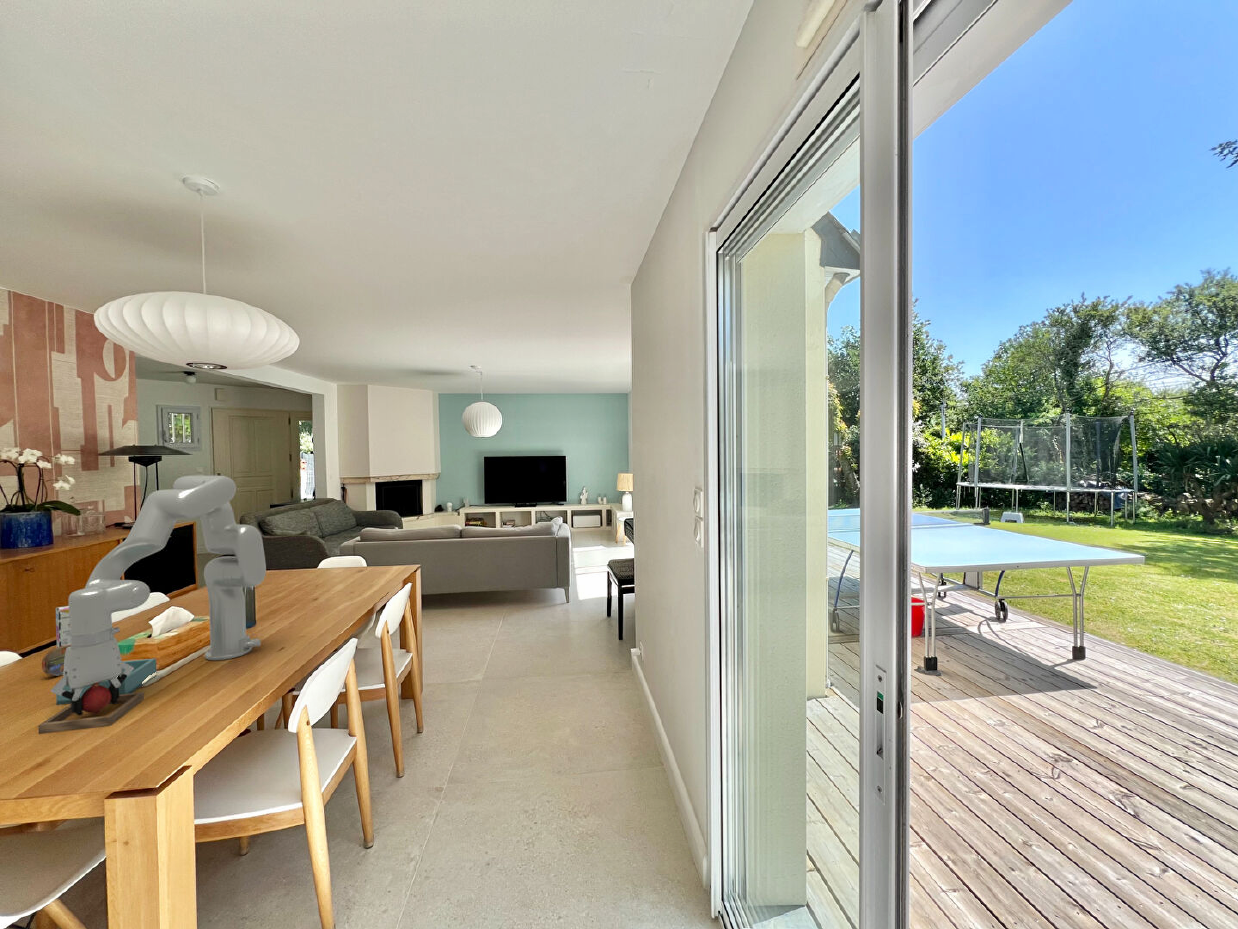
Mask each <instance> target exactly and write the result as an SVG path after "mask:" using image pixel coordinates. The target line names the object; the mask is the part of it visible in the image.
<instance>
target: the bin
mask: <svg viewBox="0 0 1238 929" xmlns="http://www.w3.org/2000/svg"><path fill="white" fill-rule="evenodd" d="M122 662H124V663H126V664H128V665H130V666H132V667H134V670H133V671H132V672H131V673H130V674H129V675H128V676H127V678H126V679H125V680H124V681H123V682H122V683H121V686H120V687H119V695H120V694H129V693H135V692H136V691H137V690H138V689H140V688H142V686H143V685H142V682H143V681H144V680H145V679H146V678H147V677H148V676H149V675H152V674H153V673H155V672H156V671H158V670H157V658H154V657H153V658H146V659H133V660H125V661H123V660H122ZM123 671H124V669H123V668H122V672H123ZM92 685H93V684H92ZM92 685H89V686H85V687H83V689H82V691H81V694H80V698H81V696H82V695H83V693H84V692H85V691H86V690H87V689H88V688H90V687H91V686H92ZM99 685H100V686H104V687H106V688H107V689H108V688H109V686H110V683H109V681H108V680H106V681H102V682H99ZM63 690H66V691H69V692H70V691H71V688H70V687H69V686H67V685H65V686H64V687H63ZM55 696H56V697H55V698H56V706H59V705H60V706H61V705H68V704H69V703H70V704H71V699H68V698H66V697H63V696H61V695H58V694H55ZM70 704H69V705H70Z"/></svg>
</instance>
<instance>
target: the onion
mask: <svg viewBox="0 0 1238 929" xmlns="http://www.w3.org/2000/svg"><path fill="white" fill-rule="evenodd" d="M111 697H112V695H111V692H110V690H109V689H107V688H106V687H104V686H100V685H99V683H96V684H93V685H92V686H91V687H90V688H88V689H87V690H86V691H85V692H84V693H83V695H82V696H81V699H82V708H83V712H85V713H89V714H94V715H97V714H101V712H102V711H103V710H104V709H105V708H106V707H107V706H109V705H108V704H109V702H110V701H111Z"/></svg>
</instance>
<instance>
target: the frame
mask: <svg viewBox="0 0 1238 929" xmlns="http://www.w3.org/2000/svg"><path fill="white" fill-rule="evenodd" d="M144 700H145V692H144V691H142V692H141V691H140V692H133V693H129V694H120V695H119V698H118V699H117V703H116V704H115V705H119V704H122V705H121V706H119V707H118V708H116V709H115V710H113V711H112V712H111V713H110V714H108V715H103V716H95V717H87V718H76V719H68V718H69V717H70V716H72V715H73V714H74V713H73V712H72V710H71V704H69V705H68V706H66V707H65V708H63V709H61V710H59V711H58V712H57V713H55V714H53V715H52V716H51V717H49V718H47V719H46V720H44V721H42V722H41V723H40V724H38V725H37V726H38V734H47V733H48V734H49V733H55V732H64V731H65V730H66V731H73V730H74V731H75V730H81V729H90V728H91V729H93V728H100V727H109V726H112V725H113V724H114V723H115V722H116V721H118V720H119V719H121V718H122V717H124V715H125V714H127V713H129V712H130V711H131V710H132V709H134V708H136V706H138V705H139V704H140V703H141V702H143V701H144ZM109 705H113V704H112V703H110V702H109V704H108V705H107V706H109ZM66 719H67V720H66Z"/></svg>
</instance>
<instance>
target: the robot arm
mask: <svg viewBox="0 0 1238 929" xmlns="http://www.w3.org/2000/svg"><path fill="white" fill-rule="evenodd" d="M172 486H173V487H172V489H169V488H168V489H160V490H155V491H153V492H151V493H150V494H149V495H148V496H147V498H146V500H145V501H144V504H143V506H142V508H141V509H140V511H139V513H138V516H137V517H136V520H135V521H134V523H133V526H132V527H131V530H130V532H129V534H128V535H127V537H126V538H125V540H124V541H123V542H121V543H119V544H118V545H116V547H115V548H113V549H112V550H111V551H109V552H108V554H106V555H105V556H104V557H103V558H102V559H100V560H99V562H98V563H97V564H96V565H95V567H94V569H93V570H92V572H91V574H90V576H89V577H88V579H87V582H86V583H85V587H84V588H82V589H81V588H80V589H78V590H75V591H73V592H71V593H70V594H69V596H68V599H67V600H68V606H69V619H70V634H71V635H70V636H71V646H70V647H67V649H66V653H65V659H64V674H63V677H62V678H61V679H60V680H59V681H58V682H56V684H55V685H54V686H53V687H52V688H51V689H50V691H51V693H53V694H55V695H56V694H58V695H61V696H63V697H66V698H68V699H71V703H70V705H71V710H72V712H73V714H75V715H77V716H79V717H80V716H82V715H83V713H84V711H83V708H82V699H81V698H80V694H81V691H82V689H83V687H85V686H89V685H92V684H96V683H99V682H102V681H106V680H108V681H109V683H110V686H109V688H108V689H109V690H110V692H111V695H112V697H111V701H110V703H112V704H111V705H117V704H116V703H117V699H118V698H119V687H120V686H121V683H122V682H123V681H124V680H125V679H126V678H127V676H128V675H129V674H130V673H131V672H132V671H133V670H134V667H132V666H130V665H128V664H126V663H124V662H122V661H123V660H122V656H121V651H120V647H119V642H118V641H117V638H116V637H115V634H117V633H120V631H121V630H120V627H119V626H117V627H113V618H112V614H113V613H116V612H122V611H123V612H124V611H129V610H133V609H136V608H139V607H141V606H142V605H143V604H145V603H146V602H147V601H148V600H149V598H150V595H151V589H150V587H149V585H147V584H146V583H145V582H143V581H140V580H136V579H135V580H134V579H132V580H131V579H121V578H122V576H123V574H124V573H125V572H126V571H127V570H128V569H129V567H131V566H132V565H133V564H134V563H136V562H139V561H140V560H141V559H144V558H146V557H148V556H151V555H153V554H155V553H158V552H160V551H161V550H163V549H164V548H165V547H166V545H167V543H168V541H169V538H170V536H171V534H172V532H173V530H174V528H175V525H176V523H177V521H178V520H193V519H196V518H200V523H201V528H202V535H203V540H204V545H205V549H206V550H207V551H208V552H209V553H211V554H213V555H215V554H216V555H225V556H218V557H216V558H213V559H211V560H210V561H208V562H207V564H206V565H205V567H204V570H203V578H204V583H205V586H206V589H207V595H208V607H209V608H208V611H209V612H208V613H209V616H208V617H209V638H210V639H209V641H210V649H209V650H207V651H206V652H205V653H204V658H205V659H206V660H209V661H223V660H230V659H233V658H239V657H241V656H244V655H246V654H248V653H250V652H251V651H252V650H253V648H255V647H260V646H261V642H262V641H261V639H259V638H250V635H249V634H248V635H247V626H246V625H247V622H246V621H247V620H246V617H247V616H246V595H245V593H244V590H243V588H253V587H256V586H258V585H260V584H261V583H262V582H263V581H264V580H265V577H266V574H267V573H266V572H267V565H266V564H267V563H266V556H265V550H264V542H263V538H262V534H261V532H260V531H259V530H258V528H257V527H255V526H254V525H251V524H237V522H236V519H235V515H234V511H233V507H232V505H231V503H230V501H231V500H232V499H233V498H234V497H235V496H236V491H237V485H236V483H235V480H233V479H232V478H230V477H227V476H226V475H225V476H224V475H201V474H200V475H184V476H181V477H178V478H177V479H176V480H174V483H173V485H172ZM226 555H236V556H226ZM122 668H123V669H124V671H123V672H122ZM117 676H118V677H117ZM116 677H117V678H116ZM65 685H67V686H69V687H70V688H71V691H70V692H69V691H66V690H63V687H64V686H65Z"/></svg>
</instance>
